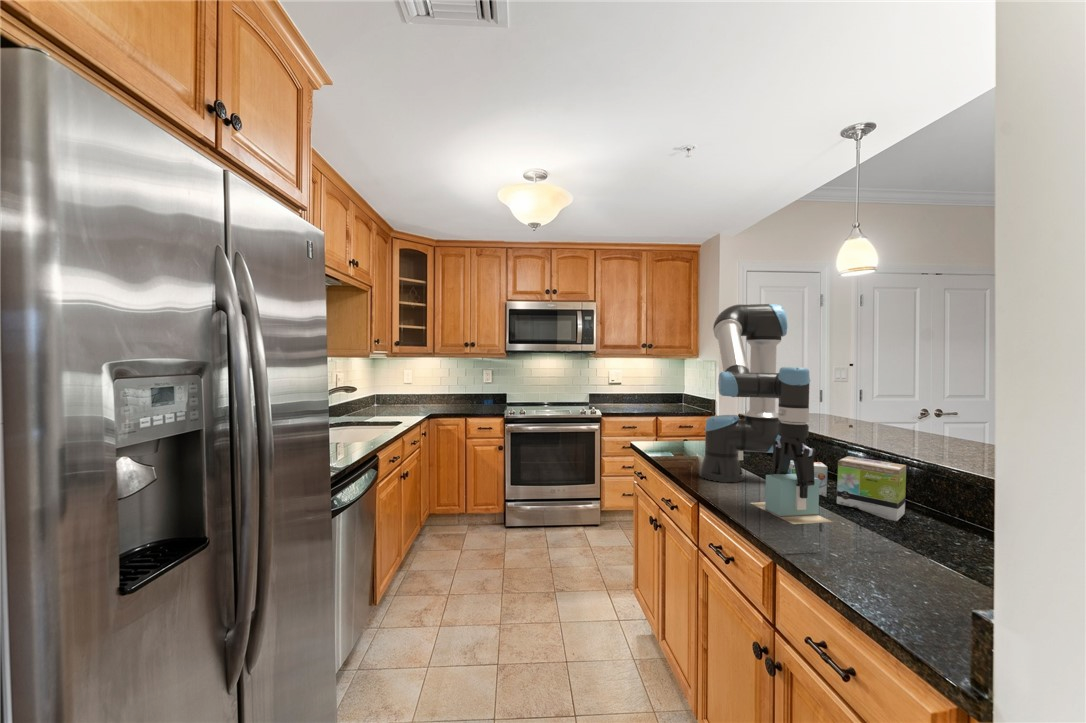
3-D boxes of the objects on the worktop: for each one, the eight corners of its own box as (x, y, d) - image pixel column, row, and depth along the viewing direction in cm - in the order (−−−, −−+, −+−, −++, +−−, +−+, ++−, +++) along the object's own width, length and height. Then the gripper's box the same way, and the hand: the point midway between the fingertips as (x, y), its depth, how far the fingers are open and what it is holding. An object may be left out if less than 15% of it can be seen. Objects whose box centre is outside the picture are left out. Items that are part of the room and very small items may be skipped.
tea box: (835, 508, 138) (836, 459, 138) (845, 502, 144) (846, 455, 144) (898, 522, 126) (899, 468, 126) (906, 514, 133) (906, 463, 133)
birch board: (749, 507, 137) (749, 502, 137) (785, 506, 139) (785, 501, 139) (793, 529, 119) (793, 524, 119) (833, 527, 121) (833, 521, 121)
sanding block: (765, 510, 130) (765, 474, 130) (802, 508, 132) (802, 473, 132) (780, 517, 124) (780, 480, 124) (818, 515, 126) (819, 478, 126)
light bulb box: (790, 497, 149) (791, 463, 149) (785, 491, 155) (786, 459, 155) (827, 500, 146) (828, 466, 146) (821, 494, 152) (821, 462, 152)
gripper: (758, 418, 137) (757, 495, 137) (807, 427, 118) (805, 517, 118) (781, 418, 138) (779, 494, 138) (832, 427, 120) (830, 516, 120)
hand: (791, 505), depth 128 cm, fingers closed on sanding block, 6 cm apart
